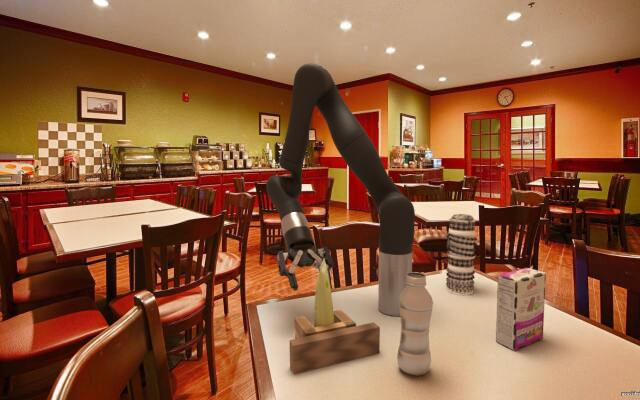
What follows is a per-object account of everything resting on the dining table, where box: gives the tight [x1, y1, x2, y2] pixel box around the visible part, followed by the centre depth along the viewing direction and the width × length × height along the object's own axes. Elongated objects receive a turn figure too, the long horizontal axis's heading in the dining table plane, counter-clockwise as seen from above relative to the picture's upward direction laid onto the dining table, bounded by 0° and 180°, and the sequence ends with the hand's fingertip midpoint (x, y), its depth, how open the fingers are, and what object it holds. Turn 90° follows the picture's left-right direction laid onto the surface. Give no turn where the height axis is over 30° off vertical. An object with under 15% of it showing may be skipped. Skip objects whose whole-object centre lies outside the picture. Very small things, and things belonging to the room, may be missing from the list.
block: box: [294, 309, 357, 339], centre depth 79 cm, size 12×8×6 cm, turn 112°
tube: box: [313, 258, 334, 327], centre depth 79 cm, size 6×5×20 cm
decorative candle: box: [445, 213, 478, 296], centre depth 111 cm, size 9×9×25 cm
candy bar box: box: [495, 267, 547, 352], centre depth 80 cm, size 11×5×16 cm, turn 117°
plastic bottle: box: [396, 271, 434, 376], centre depth 69 cm, size 6×7×20 cm
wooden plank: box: [288, 322, 381, 375], centre depth 73 cm, size 20×2×6 cm, turn 112°
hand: (312, 286), depth 85 cm, fingers open, 8 cm apart
